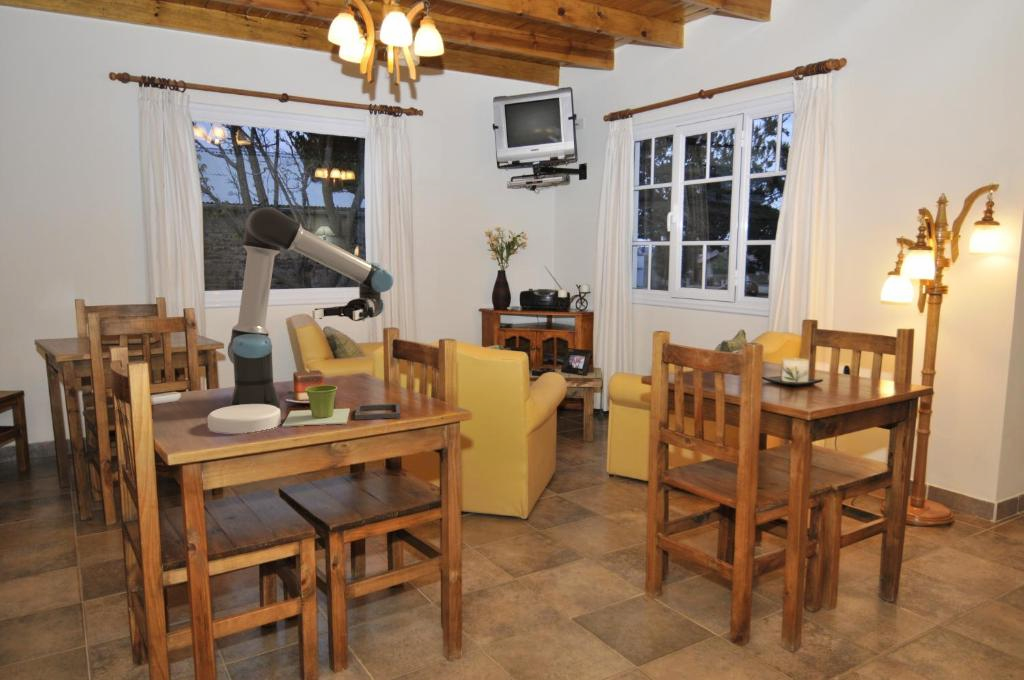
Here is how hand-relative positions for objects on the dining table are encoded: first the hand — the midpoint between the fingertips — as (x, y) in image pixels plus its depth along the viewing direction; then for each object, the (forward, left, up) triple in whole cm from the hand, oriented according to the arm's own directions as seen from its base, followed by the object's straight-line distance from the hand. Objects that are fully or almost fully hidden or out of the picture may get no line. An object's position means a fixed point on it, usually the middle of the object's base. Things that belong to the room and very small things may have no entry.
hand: (333, 315), depth 226 cm
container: (-25, -18, -30) cm, 43 cm away
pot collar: (+13, -10, -30) cm, 34 cm away
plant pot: (-3, -13, -30) cm, 32 cm away
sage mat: (-5, -13, -30) cm, 33 cm away
